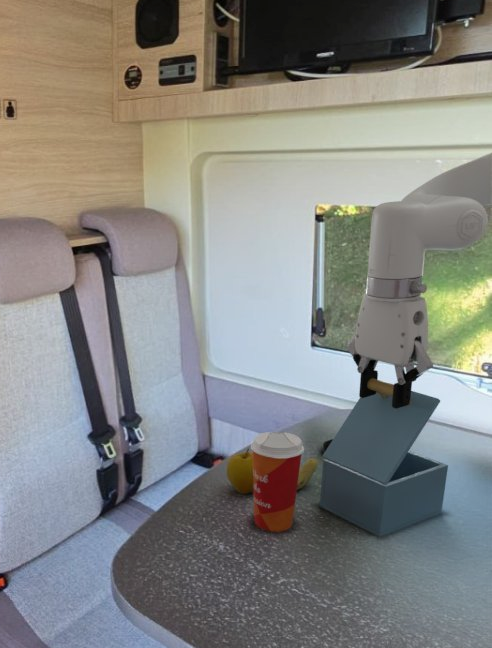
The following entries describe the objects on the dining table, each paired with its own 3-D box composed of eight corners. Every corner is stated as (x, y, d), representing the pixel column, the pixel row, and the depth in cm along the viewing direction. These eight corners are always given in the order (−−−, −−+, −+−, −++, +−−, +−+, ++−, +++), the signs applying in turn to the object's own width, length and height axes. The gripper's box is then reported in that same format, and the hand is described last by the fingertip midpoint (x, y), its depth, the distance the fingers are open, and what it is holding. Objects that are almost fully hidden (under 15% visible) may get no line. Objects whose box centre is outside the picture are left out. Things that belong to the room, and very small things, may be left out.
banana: (307, 474, 136) (309, 455, 135) (320, 478, 134) (321, 458, 133) (281, 493, 129) (282, 473, 128) (294, 497, 128) (295, 476, 126)
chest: (379, 486, 130) (383, 441, 127) (441, 513, 120) (448, 465, 117) (319, 506, 124) (323, 459, 121) (379, 537, 113) (385, 486, 110)
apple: (256, 482, 134) (258, 442, 131) (266, 497, 128) (268, 456, 125) (222, 484, 134) (223, 444, 131) (230, 499, 128) (231, 458, 125)
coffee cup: (247, 510, 124) (250, 429, 119) (296, 512, 122) (302, 430, 117) (248, 534, 116) (251, 448, 111) (301, 537, 115) (307, 450, 109)
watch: (333, 458, 143) (335, 441, 141) (316, 450, 147) (317, 434, 145) (361, 449, 146) (363, 433, 145) (343, 442, 150) (345, 426, 148)
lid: (374, 381, 121) (358, 364, 118) (440, 401, 111) (425, 383, 108) (324, 458, 121) (307, 443, 118) (386, 485, 110) (369, 469, 107)
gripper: (462, 291, 102) (448, 410, 108) (365, 277, 117) (357, 383, 123) (426, 299, 99) (413, 421, 105) (331, 284, 114) (325, 392, 120)
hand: (383, 399), depth 114 cm, fingers closed on lid, 5 cm apart
